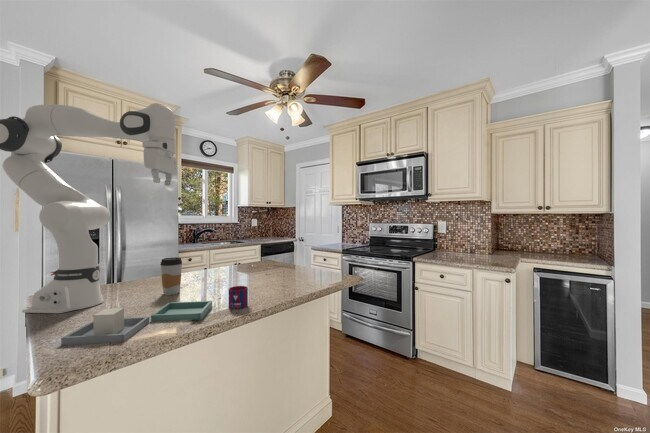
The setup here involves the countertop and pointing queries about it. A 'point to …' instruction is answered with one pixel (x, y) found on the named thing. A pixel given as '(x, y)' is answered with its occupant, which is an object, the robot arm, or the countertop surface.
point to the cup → (238, 297)
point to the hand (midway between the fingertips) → (162, 184)
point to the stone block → (108, 321)
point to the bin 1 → (87, 334)
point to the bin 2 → (182, 311)
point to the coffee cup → (171, 275)
